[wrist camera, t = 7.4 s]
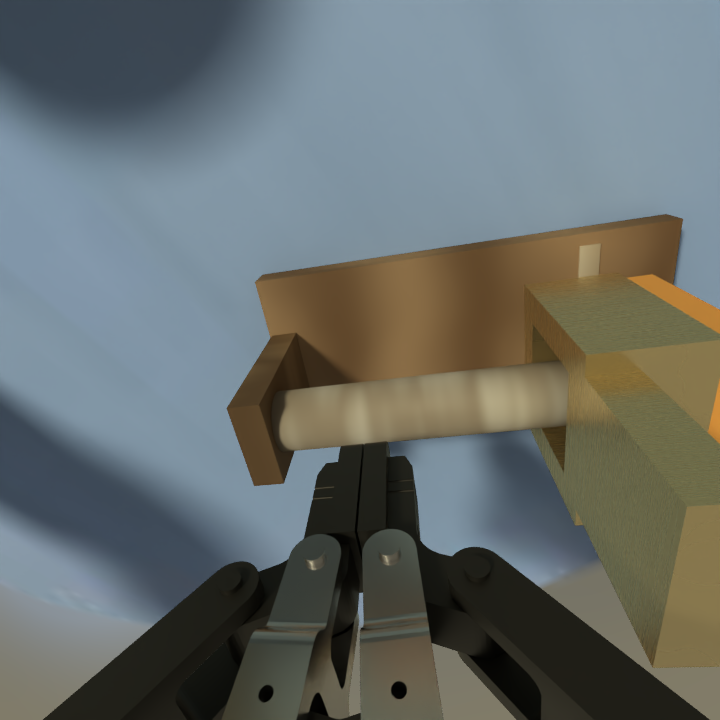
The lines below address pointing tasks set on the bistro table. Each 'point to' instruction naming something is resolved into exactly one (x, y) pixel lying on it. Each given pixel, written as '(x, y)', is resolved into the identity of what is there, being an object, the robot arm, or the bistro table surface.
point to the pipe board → (421, 342)
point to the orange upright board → (696, 310)
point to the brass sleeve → (638, 452)
